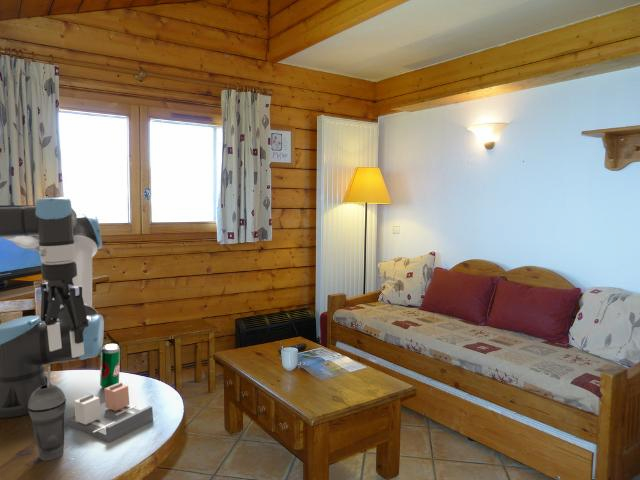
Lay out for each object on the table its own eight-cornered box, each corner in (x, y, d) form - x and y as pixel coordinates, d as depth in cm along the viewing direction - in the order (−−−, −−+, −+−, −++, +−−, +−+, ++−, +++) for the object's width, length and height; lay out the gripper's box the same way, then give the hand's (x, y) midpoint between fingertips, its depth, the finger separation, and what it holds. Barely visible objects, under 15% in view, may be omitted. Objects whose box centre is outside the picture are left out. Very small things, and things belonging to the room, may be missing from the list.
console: (63, 426, 118) (62, 412, 118) (113, 404, 130) (112, 391, 129) (106, 444, 109) (105, 429, 109) (155, 418, 121) (154, 405, 120)
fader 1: (75, 420, 117) (73, 398, 116) (91, 413, 120) (89, 392, 119) (85, 424, 114) (83, 401, 114) (101, 417, 118) (99, 395, 117)
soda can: (117, 389, 139) (118, 350, 137) (98, 389, 138) (99, 350, 136) (120, 381, 144) (121, 343, 142) (102, 381, 143) (103, 343, 141)
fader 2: (105, 407, 123) (104, 386, 123) (119, 401, 127) (118, 380, 126) (115, 410, 121) (113, 389, 121) (129, 404, 124) (127, 383, 124)
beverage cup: (45, 446, 109) (37, 360, 107) (77, 445, 109) (69, 359, 107) (24, 464, 102) (15, 372, 100) (58, 464, 102) (50, 372, 99)
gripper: (18, 261, 119) (27, 350, 122) (69, 267, 108) (77, 365, 110) (49, 257, 126) (57, 341, 128) (100, 262, 114) (107, 355, 117)
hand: (66, 352), depth 119 cm, fingers open, 9 cm apart
